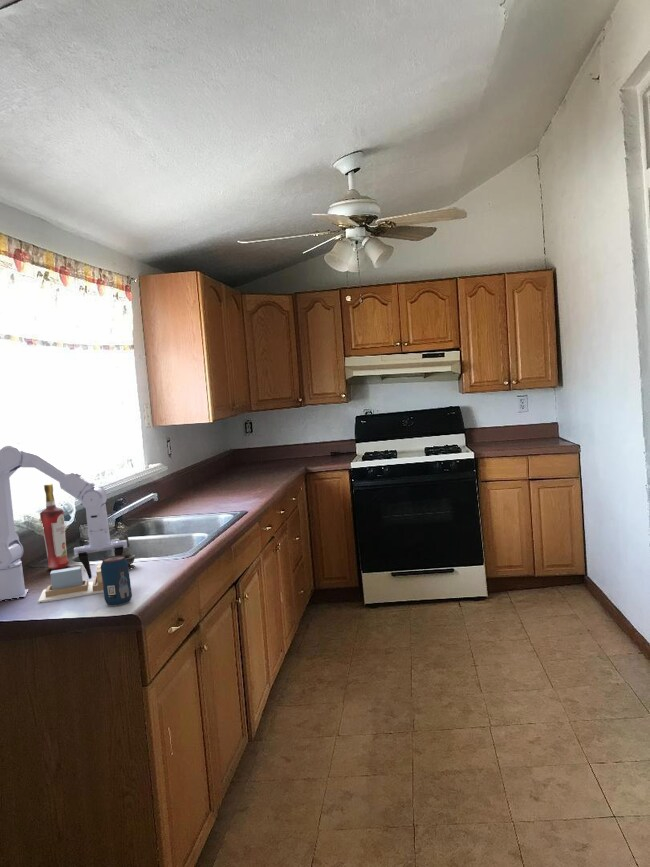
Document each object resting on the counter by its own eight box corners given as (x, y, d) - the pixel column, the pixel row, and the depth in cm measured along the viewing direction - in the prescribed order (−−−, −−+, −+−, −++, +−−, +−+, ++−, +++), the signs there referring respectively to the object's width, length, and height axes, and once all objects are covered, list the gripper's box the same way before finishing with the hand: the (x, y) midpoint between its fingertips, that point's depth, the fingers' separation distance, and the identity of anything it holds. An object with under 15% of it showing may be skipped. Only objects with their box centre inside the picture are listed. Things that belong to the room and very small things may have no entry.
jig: (38, 603, 195) (37, 595, 195) (43, 591, 207) (42, 584, 207) (117, 590, 201) (116, 582, 200) (118, 579, 213) (117, 572, 213)
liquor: (56, 565, 241) (46, 483, 239) (75, 564, 239) (64, 482, 237) (42, 571, 234) (31, 487, 232) (61, 570, 232) (50, 485, 230)
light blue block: (52, 594, 200) (50, 573, 200) (54, 591, 204) (51, 570, 203) (82, 589, 202) (80, 569, 202) (83, 586, 206) (80, 566, 205)
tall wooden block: (99, 581, 209) (97, 565, 209) (111, 579, 210) (109, 563, 210) (98, 589, 201) (96, 572, 200) (111, 587, 202) (109, 570, 201)
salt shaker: (129, 564, 231) (124, 528, 230) (140, 566, 227) (135, 529, 226) (113, 569, 226) (109, 532, 225) (124, 571, 222) (120, 533, 222)
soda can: (112, 599, 191) (107, 555, 191) (136, 598, 190) (131, 554, 190) (100, 607, 185) (94, 562, 184) (125, 606, 183) (120, 560, 183)
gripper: (70, 535, 199) (76, 583, 200) (124, 527, 203) (130, 574, 203) (72, 531, 206) (78, 577, 207) (124, 523, 209) (130, 569, 210)
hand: (104, 575), depth 205 cm, fingers open, 7 cm apart
